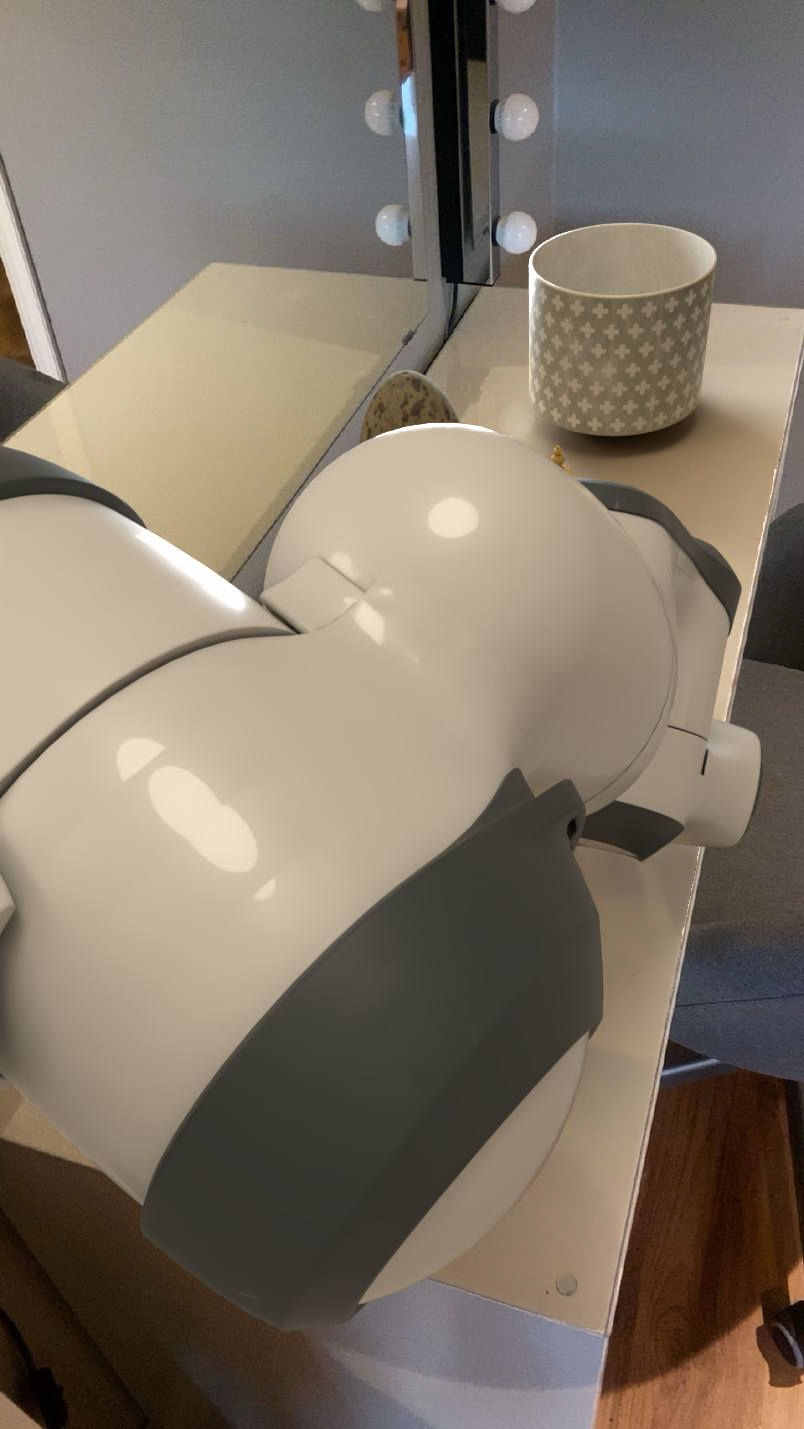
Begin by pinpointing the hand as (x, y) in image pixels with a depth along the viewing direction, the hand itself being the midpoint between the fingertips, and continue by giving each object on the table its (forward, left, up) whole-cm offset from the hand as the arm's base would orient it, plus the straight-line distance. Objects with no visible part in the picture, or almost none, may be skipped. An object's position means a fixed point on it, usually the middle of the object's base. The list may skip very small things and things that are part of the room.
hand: (314, 707), depth 74 cm
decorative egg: (+41, -11, -12) cm, 44 cm away
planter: (+54, -35, -12) cm, 65 cm away
